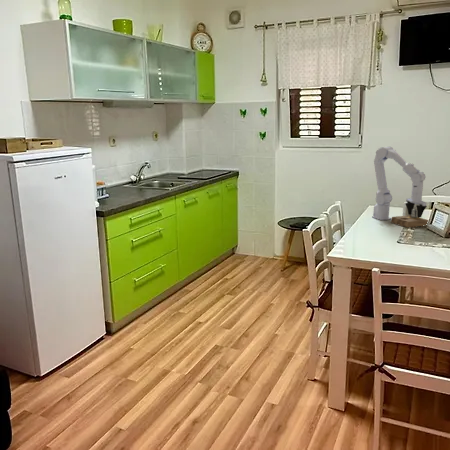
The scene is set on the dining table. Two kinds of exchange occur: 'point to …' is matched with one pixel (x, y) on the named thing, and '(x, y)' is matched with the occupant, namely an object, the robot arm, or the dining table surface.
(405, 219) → the board
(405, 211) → the small box
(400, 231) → the dining table surface
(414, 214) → the pin
